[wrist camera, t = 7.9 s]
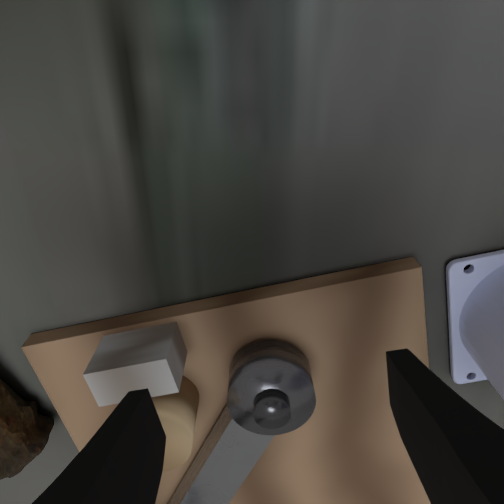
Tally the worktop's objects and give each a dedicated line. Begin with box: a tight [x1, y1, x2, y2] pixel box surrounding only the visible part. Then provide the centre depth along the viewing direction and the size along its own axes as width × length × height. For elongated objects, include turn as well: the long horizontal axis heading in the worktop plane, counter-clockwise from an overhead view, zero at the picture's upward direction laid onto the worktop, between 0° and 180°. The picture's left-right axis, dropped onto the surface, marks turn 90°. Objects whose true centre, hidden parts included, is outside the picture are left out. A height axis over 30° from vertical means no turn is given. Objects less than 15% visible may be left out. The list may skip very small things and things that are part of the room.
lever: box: [168, 340, 316, 504], centre depth 23 cm, size 18×4×6 cm, turn 155°
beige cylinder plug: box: [151, 376, 199, 472], centre depth 23 cm, size 4×4×3 cm
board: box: [21, 257, 431, 504], centre depth 25 cm, size 21×20×4 cm
